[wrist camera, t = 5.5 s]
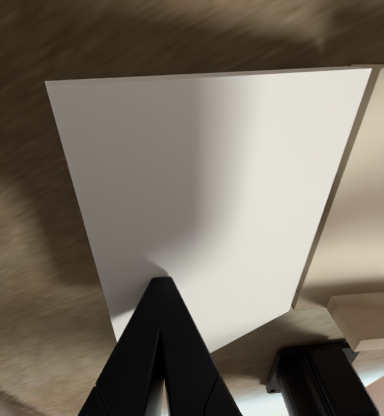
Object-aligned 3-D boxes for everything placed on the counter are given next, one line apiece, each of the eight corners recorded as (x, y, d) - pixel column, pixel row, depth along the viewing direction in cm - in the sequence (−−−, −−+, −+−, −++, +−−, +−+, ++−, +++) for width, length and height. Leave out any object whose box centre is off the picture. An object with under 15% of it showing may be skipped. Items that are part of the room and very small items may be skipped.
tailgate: (288, 310, 14) (131, 395, 11) (278, 300, 15) (126, 376, 12) (372, 68, 8) (46, 87, 4) (348, 66, 8) (44, 81, 5)
